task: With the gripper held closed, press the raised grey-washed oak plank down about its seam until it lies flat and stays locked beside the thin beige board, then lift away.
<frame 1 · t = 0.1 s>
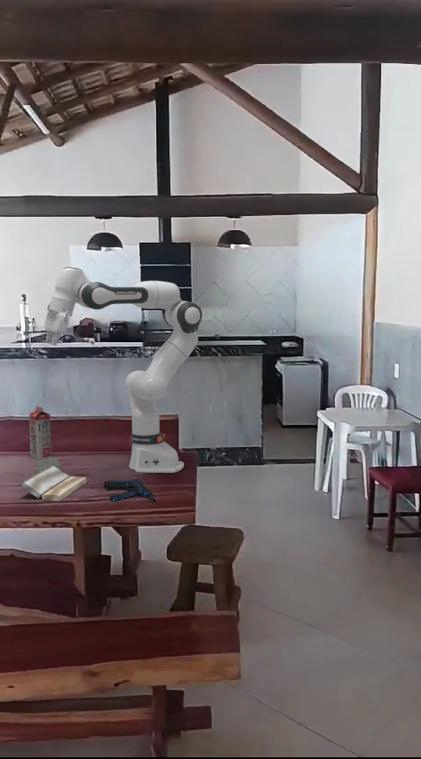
hand: (50, 344, 241), 52 cm above the table, tool tilted 20°, fingers open, 8 cm apart
stone slab: (48, 467, 267), on the table
thin beige board: (65, 490, 234), on the table
gun: (127, 495, 230), on the table
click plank: (45, 480, 235), point 3 cm above the table, hinge at 30.0°
juice carton: (41, 456, 281), on the table
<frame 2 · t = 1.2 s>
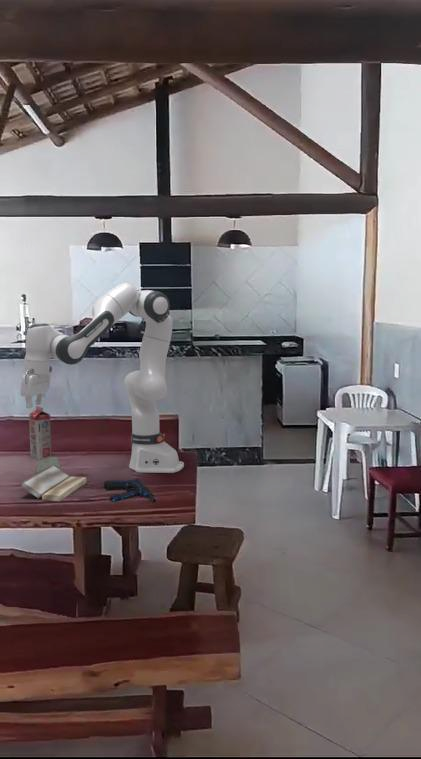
hand: (33, 406, 233), 30 cm above the table, tool pointing down, fingers open, 8 cm apart
nothing on the table moved.
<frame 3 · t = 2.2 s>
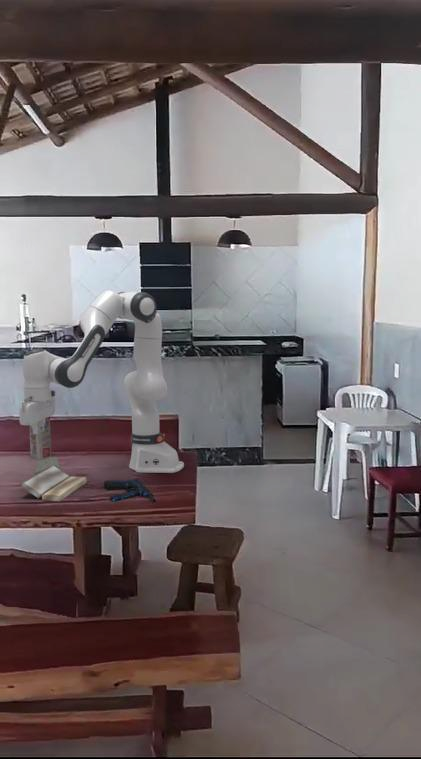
hand: (38, 432, 233), 21 cm above the table, tool pointing down, fingers closed
nothing on the table moved.
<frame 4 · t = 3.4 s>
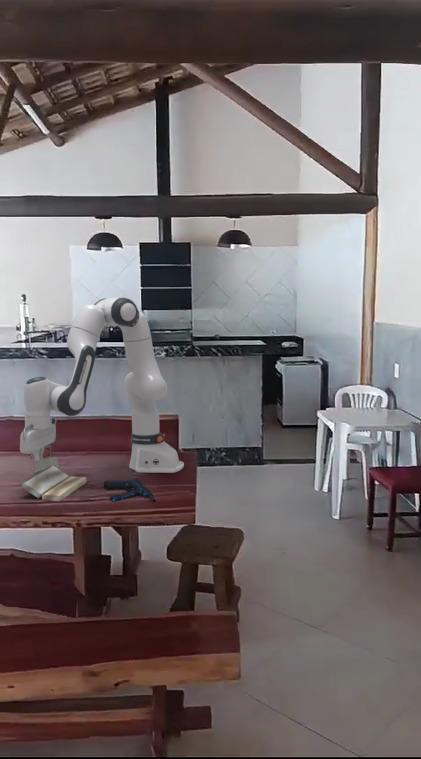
hand: (38, 459, 234), 11 cm above the table, tool pointing down, fingers closed
nothing on the table moved.
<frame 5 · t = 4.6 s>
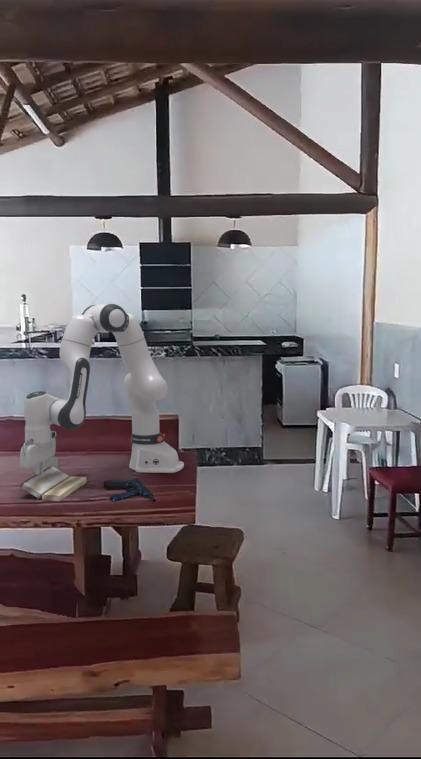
hand: (38, 473, 235), 6 cm above the table, tool pointing down, fingers closed, pressing on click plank
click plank: (45, 481, 235), point 3 cm above the table, hinge at 27.2°, touching gripper
everything else where it was.
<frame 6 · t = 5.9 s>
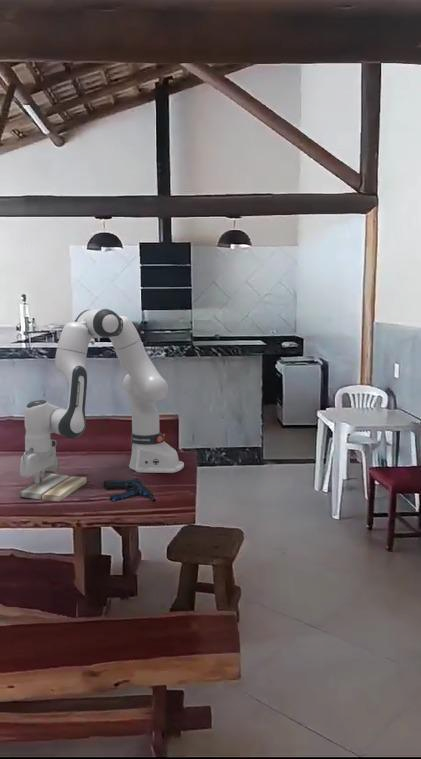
hand: (38, 482, 235), 3 cm above the table, tool pointing down, fingers closed, pressing on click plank
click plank: (45, 485, 235), point 1 cm above the table, hinge at 3.4°, touching gripper
everything else where it was.
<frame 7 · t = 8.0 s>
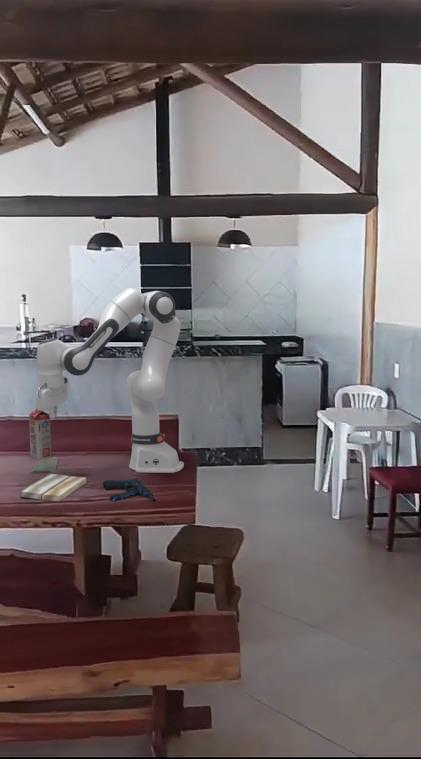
hand: (53, 417, 247), 24 cm above the table, tool pointing down, fingers closed
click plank: (45, 485, 235), point 1 cm above the table, hinge at 3.2°
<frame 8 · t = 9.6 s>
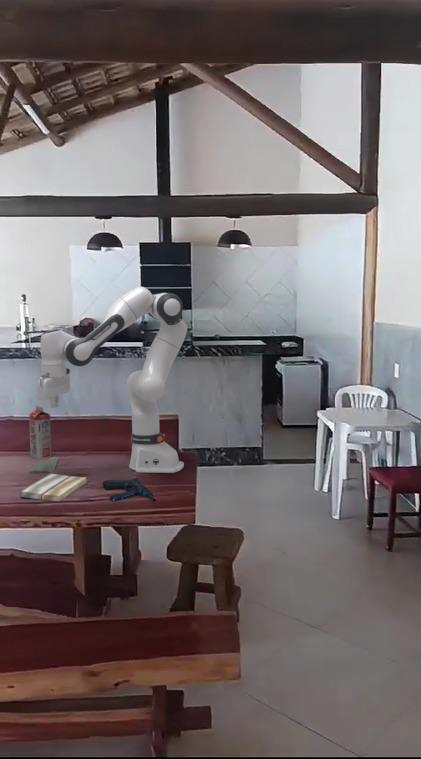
hand: (54, 407, 249), 27 cm above the table, tool pointing down, fingers closed
at the end: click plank at +3° (first picture: +30°) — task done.
